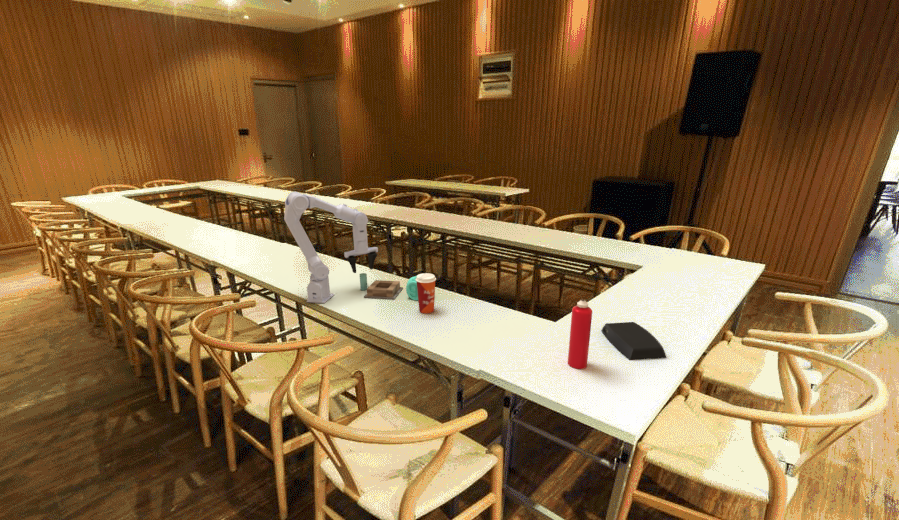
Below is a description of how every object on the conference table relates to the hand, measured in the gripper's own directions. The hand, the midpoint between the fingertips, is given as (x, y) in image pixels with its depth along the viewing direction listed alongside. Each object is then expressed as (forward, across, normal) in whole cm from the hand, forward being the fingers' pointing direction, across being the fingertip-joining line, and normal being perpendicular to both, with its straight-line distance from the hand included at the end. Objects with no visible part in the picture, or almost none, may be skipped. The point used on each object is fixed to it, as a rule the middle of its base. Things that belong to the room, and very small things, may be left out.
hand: (362, 270), depth 180 cm
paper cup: (+9, -10, +35) cm, 38 cm away
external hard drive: (+10, -49, +96) cm, 108 cm away
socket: (+9, -5, +9) cm, 14 cm away
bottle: (+9, -25, +94) cm, 98 cm away
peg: (+9, 0, 0) cm, 9 cm away
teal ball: (+9, -15, +22) cm, 28 cm away
